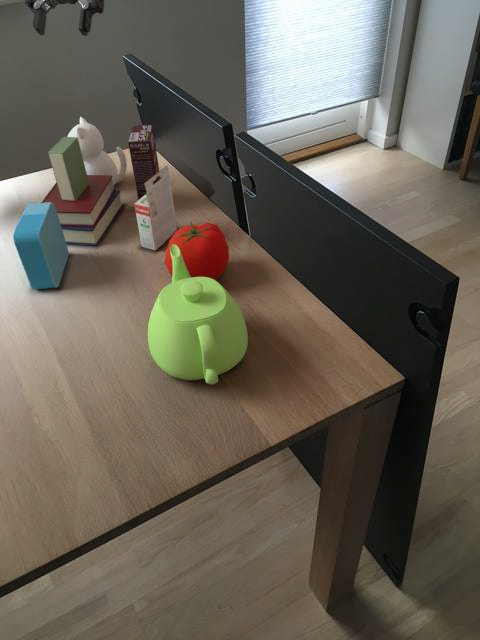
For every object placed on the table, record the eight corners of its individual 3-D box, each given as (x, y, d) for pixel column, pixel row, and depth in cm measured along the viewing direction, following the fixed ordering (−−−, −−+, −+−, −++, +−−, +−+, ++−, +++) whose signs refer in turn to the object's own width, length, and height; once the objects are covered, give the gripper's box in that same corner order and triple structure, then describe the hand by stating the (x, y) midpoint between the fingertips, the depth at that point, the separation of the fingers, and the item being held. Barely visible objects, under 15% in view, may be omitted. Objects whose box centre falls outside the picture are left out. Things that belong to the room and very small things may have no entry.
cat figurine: (79, 177, 130) (63, 115, 120) (131, 173, 130) (120, 111, 120) (75, 195, 123) (57, 131, 113) (129, 191, 124) (117, 127, 114)
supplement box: (162, 211, 116) (151, 140, 106) (139, 213, 116) (126, 142, 105) (163, 192, 123) (153, 123, 112) (142, 193, 122) (130, 125, 112)
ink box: (141, 247, 106) (127, 179, 96) (163, 227, 111) (152, 161, 102) (156, 251, 105) (144, 183, 95) (178, 231, 110) (169, 164, 100)
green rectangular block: (61, 200, 107) (47, 152, 100) (75, 183, 112) (63, 136, 105) (75, 201, 106) (62, 153, 100) (89, 184, 111) (77, 137, 105)
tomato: (245, 269, 99) (243, 222, 93) (201, 306, 92) (195, 257, 85) (199, 250, 105) (193, 204, 98) (154, 284, 97) (145, 236, 91)
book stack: (40, 242, 109) (29, 210, 104) (72, 202, 121) (63, 172, 116) (96, 246, 107) (88, 214, 102) (123, 205, 119) (117, 175, 114)
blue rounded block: (46, 254, 106) (28, 200, 98) (69, 253, 106) (53, 198, 98) (32, 292, 97) (11, 236, 89) (57, 291, 97) (38, 234, 89)
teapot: (140, 314, 91) (125, 250, 82) (224, 295, 94) (220, 232, 85) (164, 412, 75) (150, 346, 67) (266, 386, 78) (265, 319, 69)
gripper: (24, -68, 96) (13, 20, 96) (99, -70, 94) (88, 20, 93) (45, -38, 104) (35, 44, 103) (115, -39, 101) (106, 45, 101)
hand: (61, 33), depth 98 cm, fingers open, 8 cm apart
